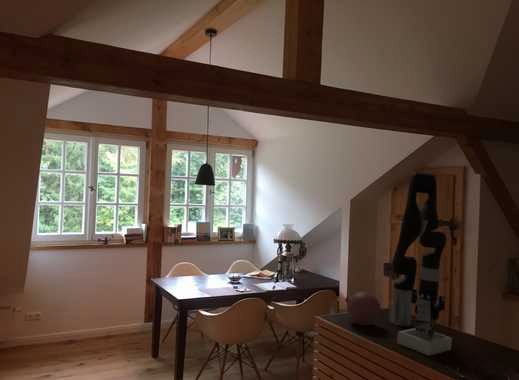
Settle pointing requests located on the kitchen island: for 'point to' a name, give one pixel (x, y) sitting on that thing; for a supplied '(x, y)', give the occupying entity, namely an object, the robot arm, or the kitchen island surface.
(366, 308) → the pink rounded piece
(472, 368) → the kitchen island surface
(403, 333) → the carton dock
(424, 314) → the coffee box
